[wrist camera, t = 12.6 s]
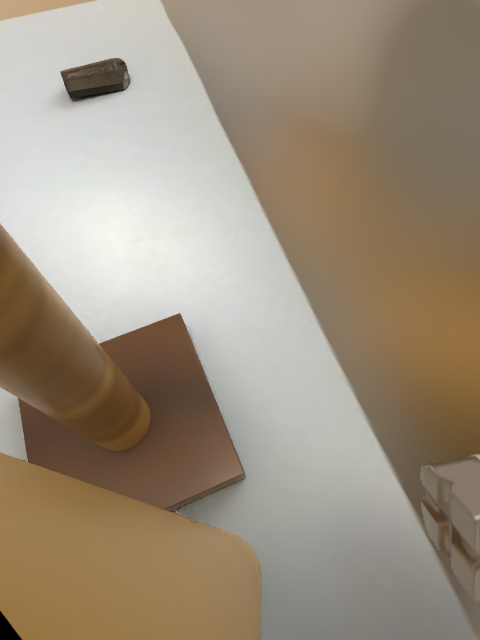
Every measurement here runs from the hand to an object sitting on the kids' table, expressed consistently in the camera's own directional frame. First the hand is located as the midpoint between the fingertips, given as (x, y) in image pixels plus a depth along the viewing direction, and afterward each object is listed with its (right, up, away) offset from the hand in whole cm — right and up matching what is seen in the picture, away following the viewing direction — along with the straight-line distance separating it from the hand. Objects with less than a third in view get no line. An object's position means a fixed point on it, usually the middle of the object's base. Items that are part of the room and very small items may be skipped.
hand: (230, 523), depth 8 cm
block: (-13, +26, +31) cm, 43 cm away
